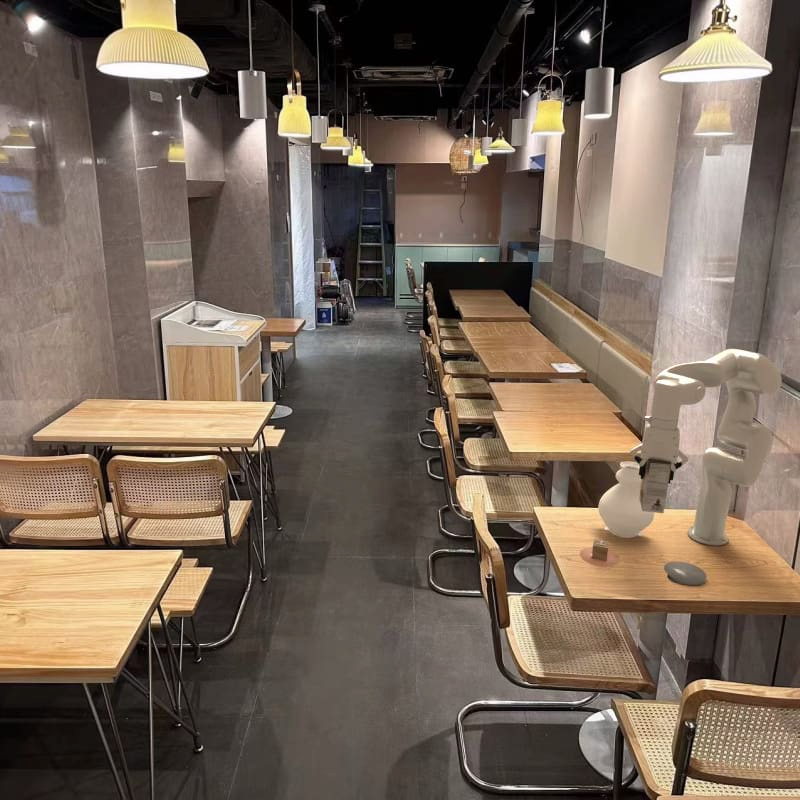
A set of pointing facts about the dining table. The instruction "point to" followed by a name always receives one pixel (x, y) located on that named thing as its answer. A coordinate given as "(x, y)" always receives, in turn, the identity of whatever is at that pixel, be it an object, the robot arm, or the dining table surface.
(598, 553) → the letter cube
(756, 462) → the robot arm
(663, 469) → the coffee box
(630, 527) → the decorative vase
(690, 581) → the charcoal dish
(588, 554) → the terracotta dish
